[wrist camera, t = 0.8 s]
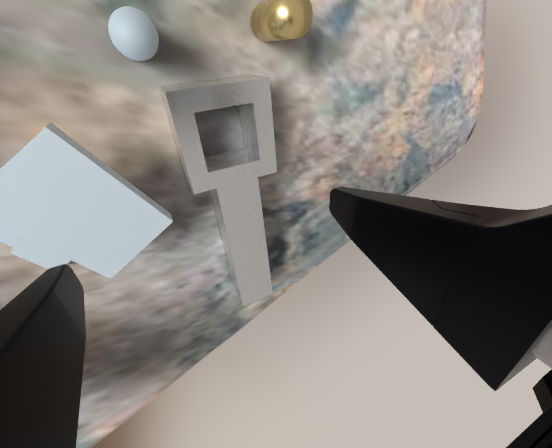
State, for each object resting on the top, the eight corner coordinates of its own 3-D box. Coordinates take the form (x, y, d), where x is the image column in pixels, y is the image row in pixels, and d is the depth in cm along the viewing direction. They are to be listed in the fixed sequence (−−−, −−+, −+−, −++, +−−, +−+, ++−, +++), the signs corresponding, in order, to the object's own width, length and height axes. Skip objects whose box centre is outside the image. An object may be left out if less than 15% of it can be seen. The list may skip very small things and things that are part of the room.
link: (159, 87, 16) (165, 92, 14) (251, 74, 18) (269, 77, 16) (218, 290, 26) (227, 313, 24) (273, 268, 28) (286, 287, 26)
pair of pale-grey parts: (159, 258, 22) (166, 297, 18) (-14, 268, 17) (-51, 326, 13) (173, 30, 15) (189, 22, 12) (-103, -62, 10) (-221, -123, 7)
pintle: (275, 45, 18) (306, 44, 15) (247, 35, 17) (275, 31, 14) (282, 9, 17) (317, -1, 14) (254, -3, 16) (284, -17, 13)
